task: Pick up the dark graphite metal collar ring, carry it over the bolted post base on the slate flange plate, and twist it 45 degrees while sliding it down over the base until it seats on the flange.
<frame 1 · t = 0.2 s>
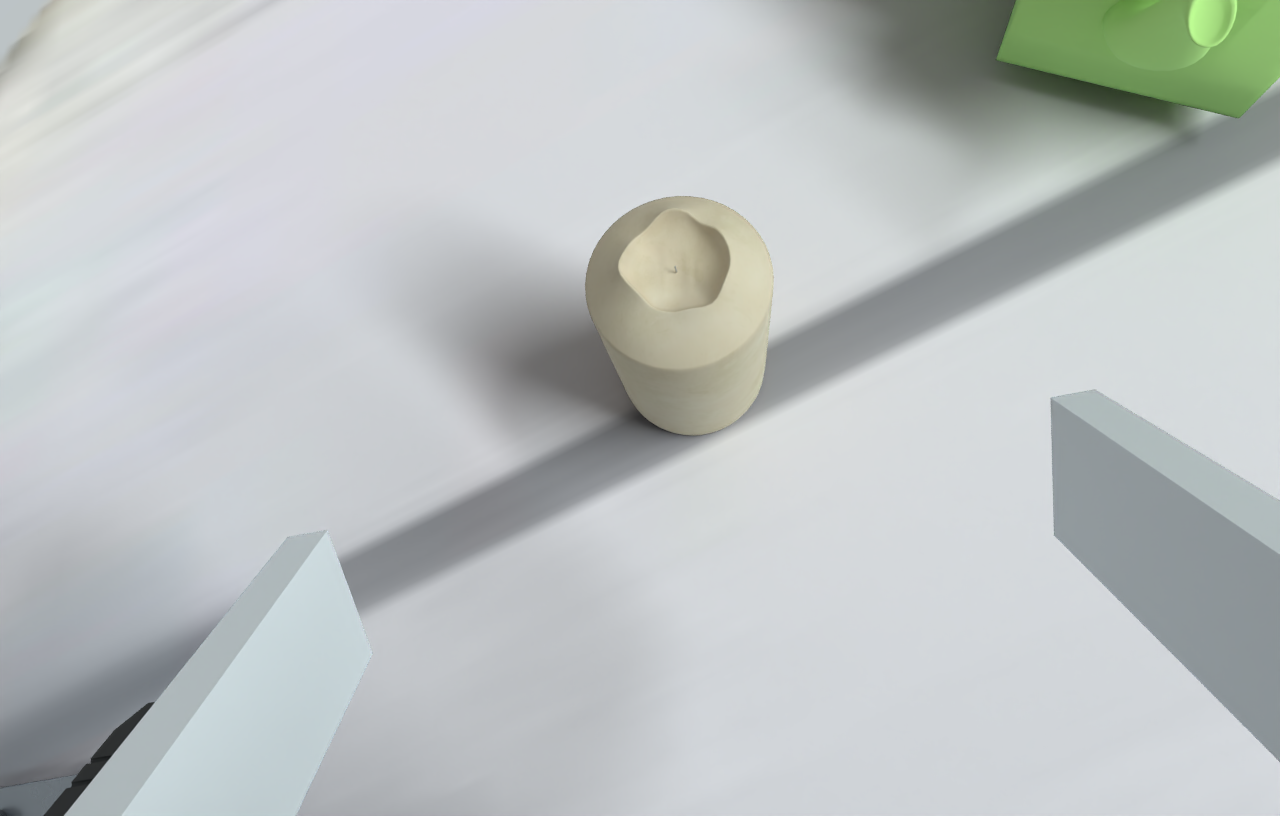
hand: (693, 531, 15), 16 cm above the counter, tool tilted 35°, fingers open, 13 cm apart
candle: (693, 370, 32), on the counter
kettle: (1111, 9, 34), on the counter
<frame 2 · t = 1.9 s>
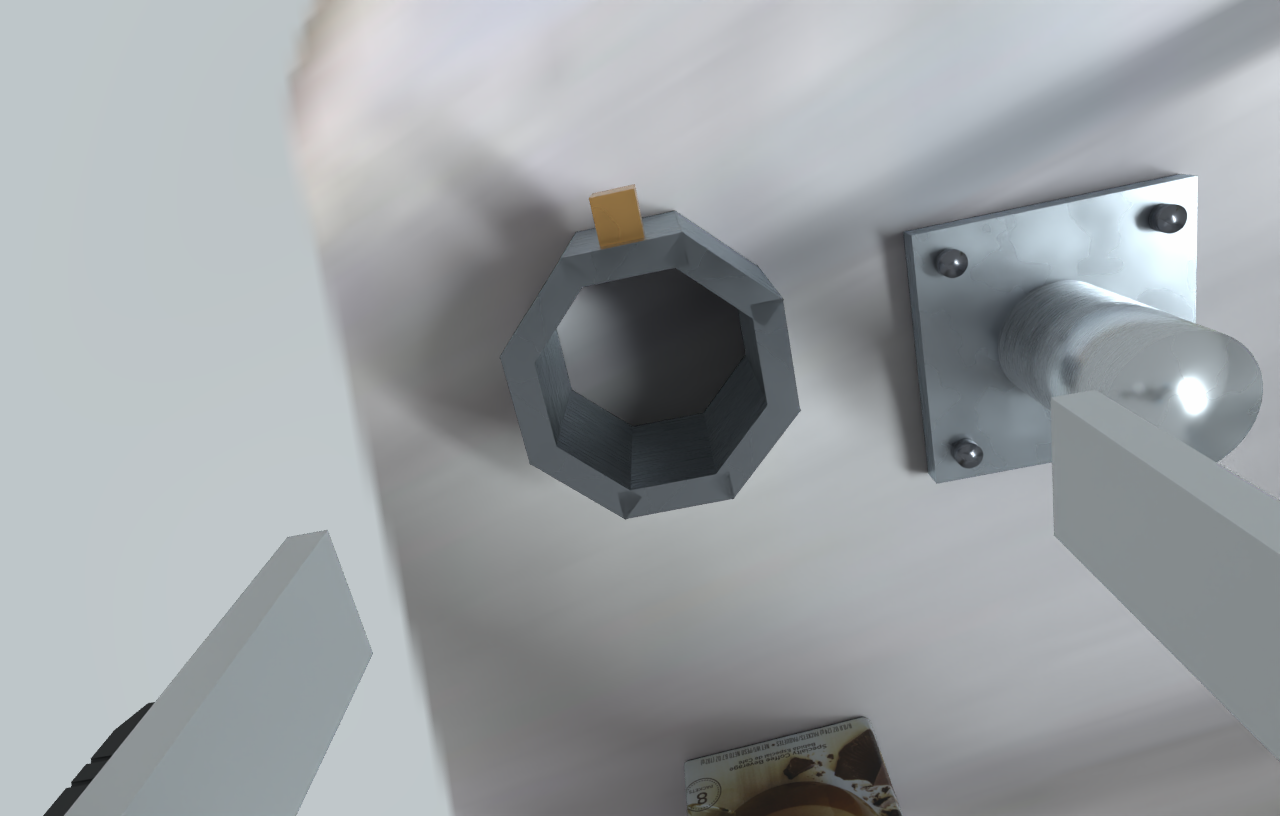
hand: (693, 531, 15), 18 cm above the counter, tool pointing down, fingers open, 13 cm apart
bolted post base: (1046, 333, 32), on the counter
collar: (650, 337, 32), on the counter
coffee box: (788, 782, 39), on the counter
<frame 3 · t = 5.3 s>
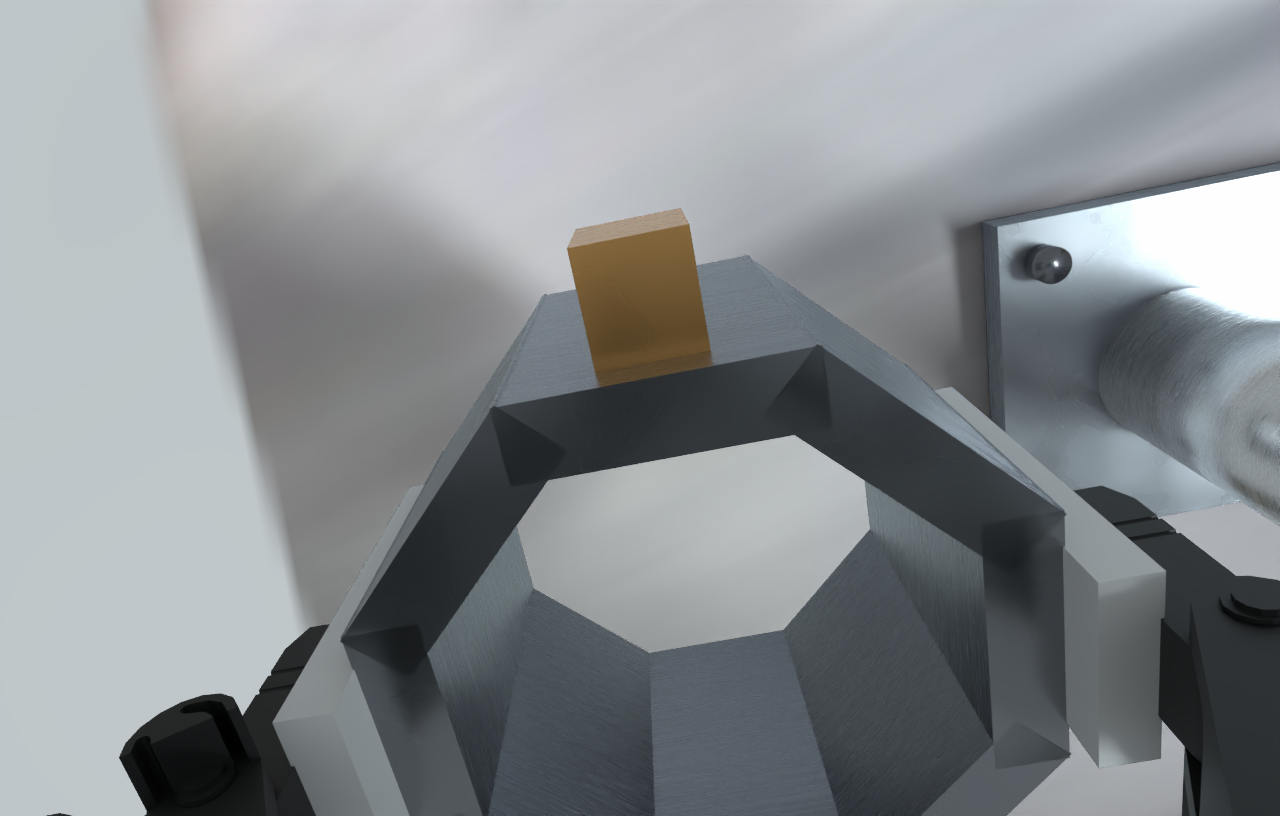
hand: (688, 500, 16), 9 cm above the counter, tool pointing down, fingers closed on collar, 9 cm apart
bolted post base: (1155, 354, 25), on the counter
collar: (687, 496, 16), point 9 cm above the counter, touching gripper
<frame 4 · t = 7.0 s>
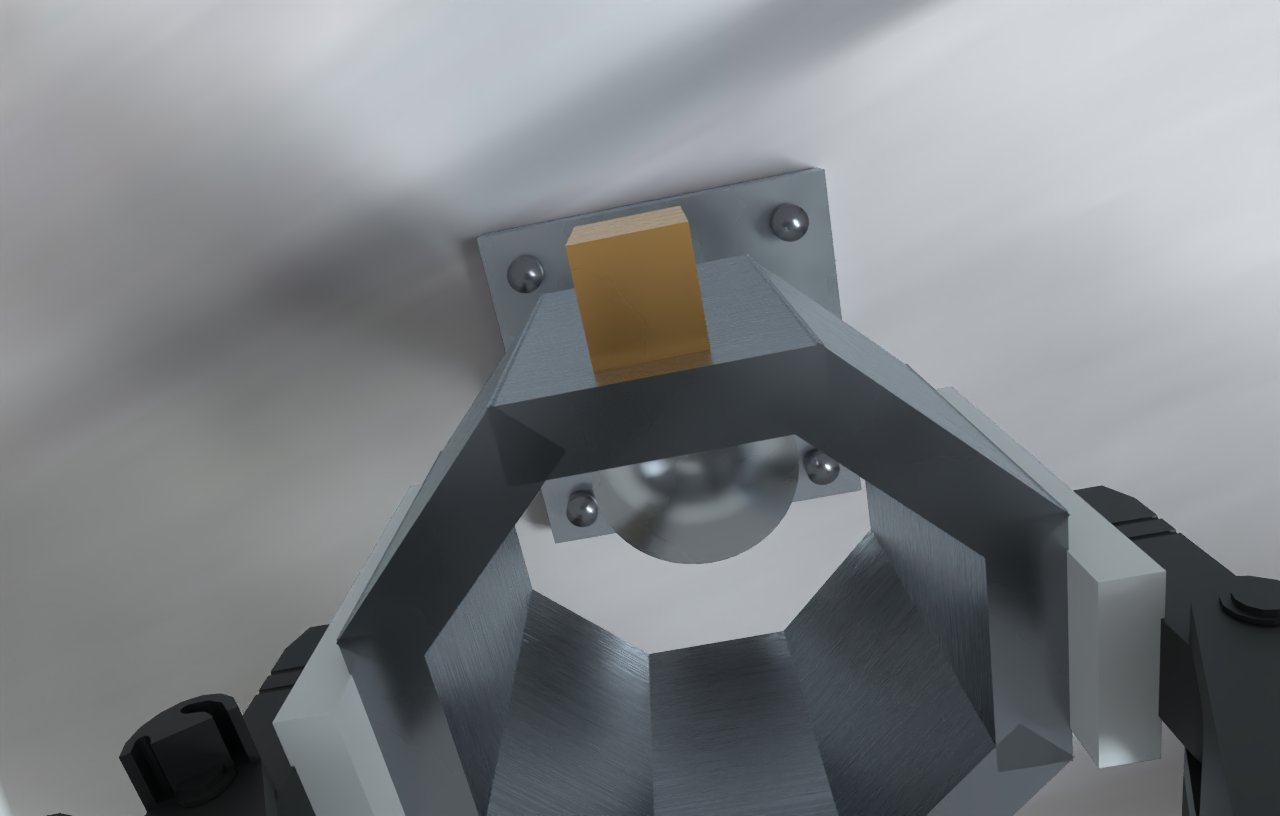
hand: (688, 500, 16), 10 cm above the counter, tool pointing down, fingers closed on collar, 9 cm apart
bolted post base: (677, 361, 26), on the counter
collar: (687, 496, 16), point 10 cm above the counter, touching gripper
when the fingers open (2 cm above the counter, at t = 9.1 s): collar drops 1 cm, resting on bolted post base.
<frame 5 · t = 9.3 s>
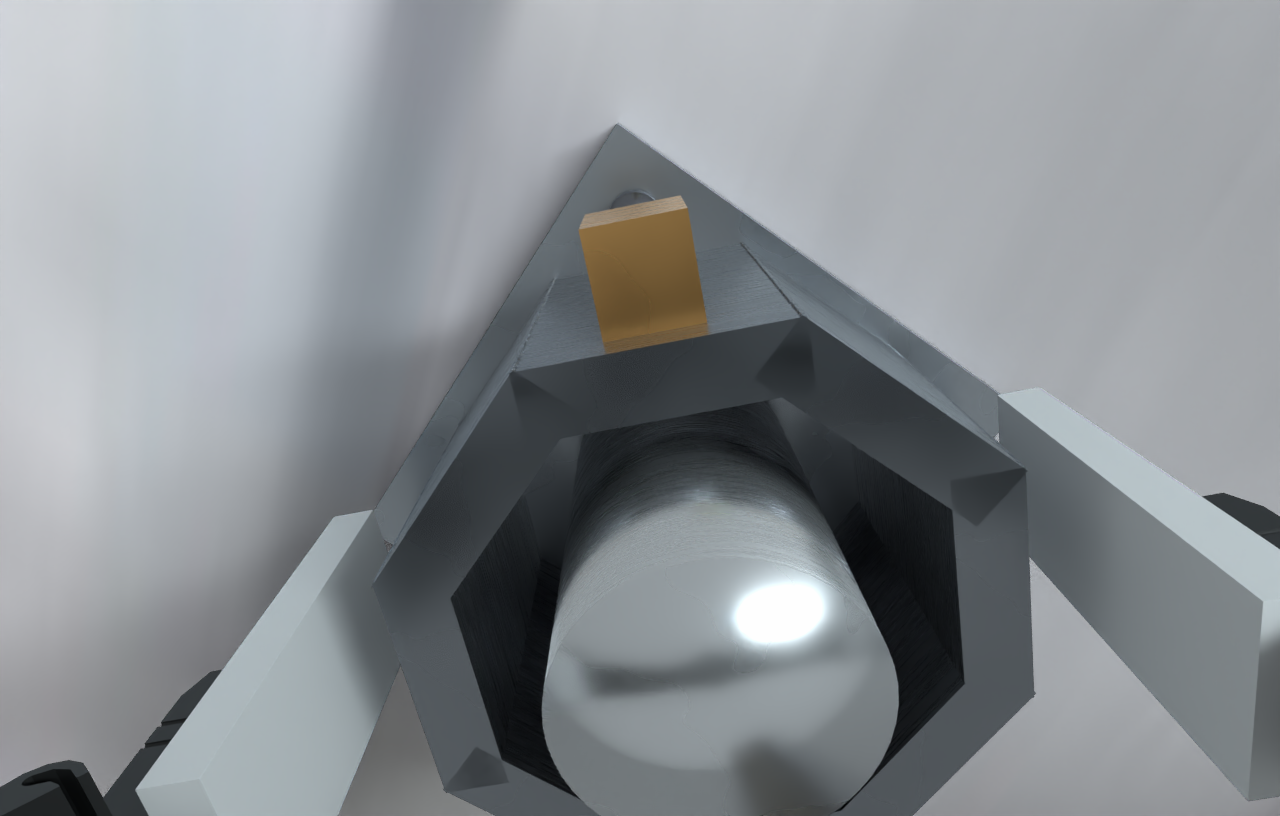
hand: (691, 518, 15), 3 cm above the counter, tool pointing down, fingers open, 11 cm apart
bolted post base: (681, 451, 18), on the counter
collar: (686, 469, 17), point 1 cm above the counter, touching bolted post base
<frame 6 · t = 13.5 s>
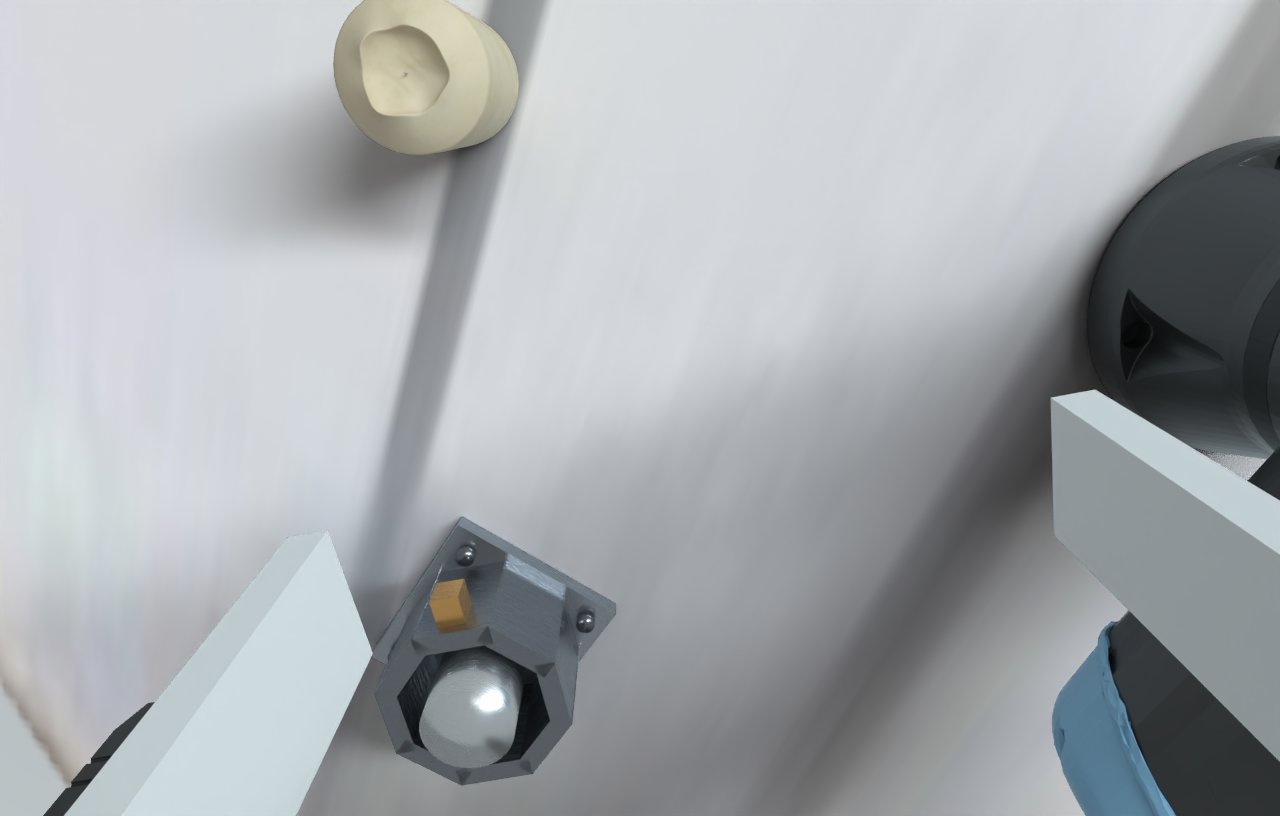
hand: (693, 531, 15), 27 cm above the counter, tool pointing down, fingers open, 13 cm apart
bolted post base: (494, 624, 47), on the counter
collar: (493, 635, 46), point 1 cm above the counter, touching bolted post base
candle: (459, 82, 37), on the counter
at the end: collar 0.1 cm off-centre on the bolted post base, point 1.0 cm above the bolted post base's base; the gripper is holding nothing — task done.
